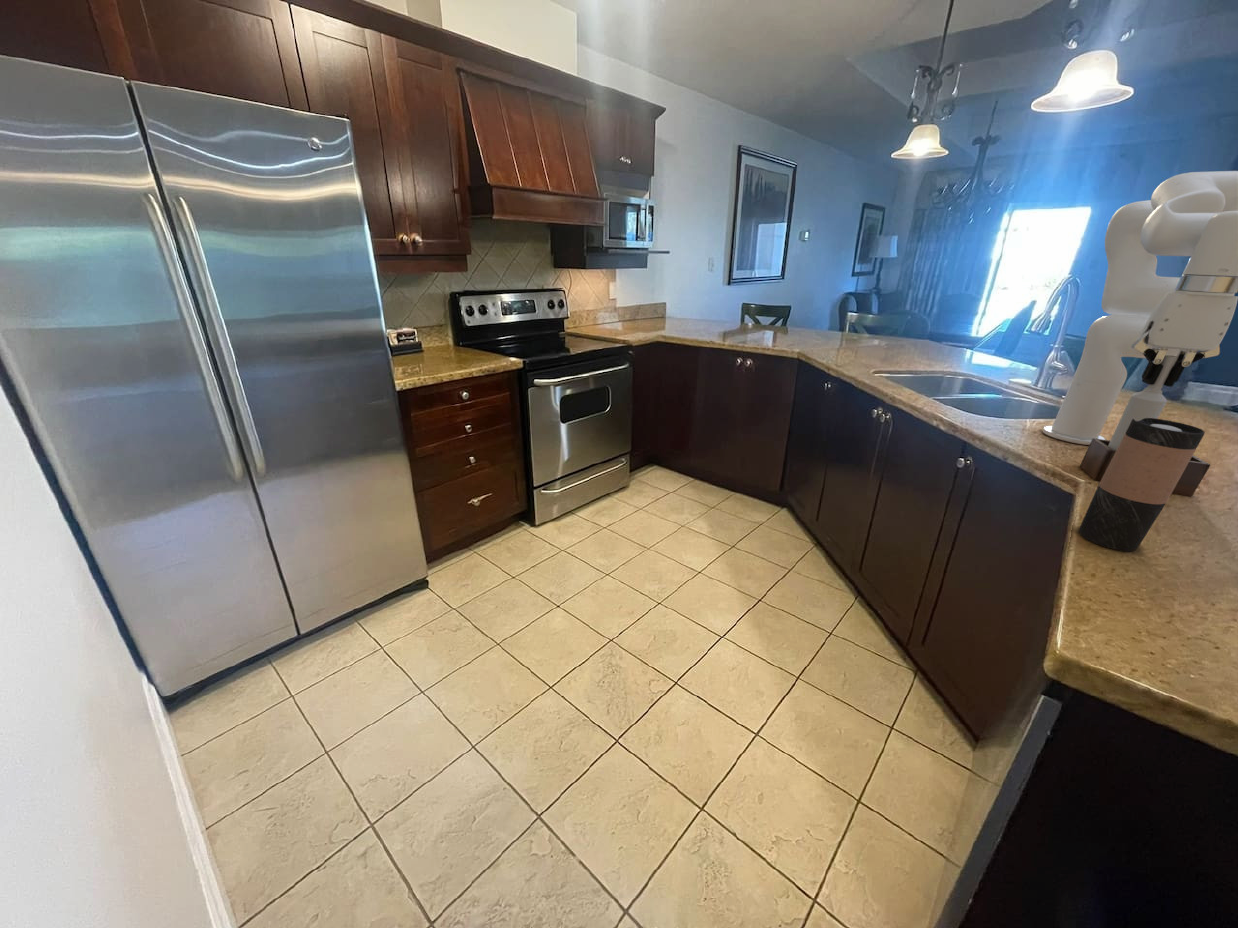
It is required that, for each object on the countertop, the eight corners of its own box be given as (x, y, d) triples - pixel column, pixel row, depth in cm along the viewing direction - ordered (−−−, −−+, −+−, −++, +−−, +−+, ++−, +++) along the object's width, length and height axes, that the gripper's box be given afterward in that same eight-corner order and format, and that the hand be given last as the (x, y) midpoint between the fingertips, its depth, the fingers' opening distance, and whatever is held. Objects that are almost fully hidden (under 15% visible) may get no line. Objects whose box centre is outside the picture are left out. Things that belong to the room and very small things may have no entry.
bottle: (1134, 477, 100) (1198, 359, 90) (1106, 474, 101) (1166, 357, 90) (1116, 467, 104) (1175, 354, 94) (1089, 465, 105) (1144, 352, 95)
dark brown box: (1079, 466, 107) (1092, 438, 105) (1169, 481, 102) (1186, 451, 99) (1094, 480, 101) (1109, 449, 98) (1192, 496, 95) (1210, 464, 92)
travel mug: (1146, 558, 73) (1217, 437, 65) (1081, 542, 77) (1141, 426, 69) (1130, 536, 79) (1193, 423, 71) (1071, 522, 83) (1124, 413, 75)
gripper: (1252, 288, 87) (1199, 385, 95) (1139, 283, 93) (1097, 375, 101) (1283, 290, 81) (1223, 394, 89) (1160, 285, 87) (1113, 382, 94)
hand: (1156, 383), depth 95 cm, fingers closed on bottle, 2 cm apart
